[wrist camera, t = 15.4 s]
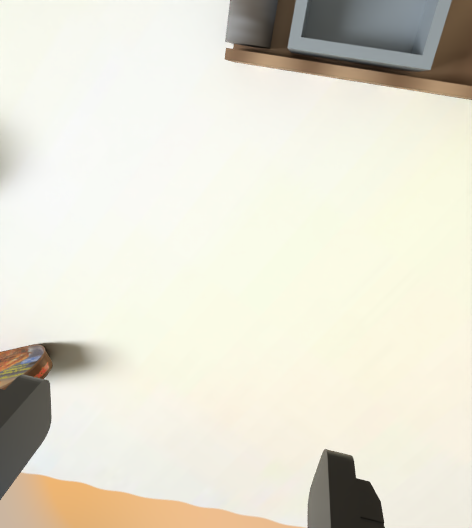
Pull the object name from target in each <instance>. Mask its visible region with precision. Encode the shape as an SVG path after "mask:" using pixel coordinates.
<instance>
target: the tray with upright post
mask: <svg viewBox="0 0 472 528" xmlns="http://www.w3.org/2000/svg"><path fill="white" fill-rule="evenodd" d="M451 2H452V0H296V3H295V8H294V14H293V20H292V25H291V31H290V37H289V42H288V49H289V51H290V52H291V53H294V54H301V55H307V56H314V57H320V58H327V59H333V60H340V61H346V62H353V63H359V64H366V65H372V66H378V67H385V68H391V69H398V70H404V71H411V72H420V71H427V70H431V66H432V63H433V60H434V57H435V53H436V50H437V47H438V44H439V40H440V37H441V34H442V31H443V27H444V24H445V21H446V18H447V15H448V11H449V8H450V5H451Z"/></svg>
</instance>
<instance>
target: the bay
mask: <svg viewBox="0 0 472 528" xmlns="http://www.w3.org/2000/svg"><path fill="white" fill-rule="evenodd" d="M295 3H296V0H230V7H229V15H228V23H227V32H226V40H225V41H226V42H229V43H233V44H234V48H233V49H229V48H226V53H225V60H229V61H232V62H237V63H244V64H250V65H256V66H262V67H269V68H275V69H281V70H288V71H294V72H300V73H306V74H313V75H319V76H325V77H332V78H338V79H344V80H350V81H357V82H363V83H369V84H376V85H382V86H388V87H394V88H401V89H407V90H413V91H420V92H426V93H432V94H438V95H445V96H451V97H457V98H464V99H470V100H472V0H452V2H451V5H450V8H449V11H448V15H447V18H446V21H445V24H444V27H443V31H442V34H441V37H440V40H439V44H438V47H437V50H436V53H435V57H434V60H433V63H432V66H431V70H427V71H420V72H411V71H404V70H398V69H391V68H385V67H378V66H372V65H366V64H359V63H353V62H346V61H340V60H333V59H327V58H320V57H314V56H307V55H301V54H294V53H291V52H290V51H289V49H288V42H289V37H290V31H291V25H292V20H293V14H294V8H295Z"/></svg>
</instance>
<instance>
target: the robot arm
mask: <svg viewBox="0 0 472 528" xmlns="http://www.w3.org/2000/svg"><path fill="white" fill-rule="evenodd" d="M50 424H51V397H50V383H49V381H48V380H44V379H40V378H36V377H32V376H28V375H24V374H22V375H20V376H18V377H17V378H16V379H15V380H14V381H13V382H12V383H11V384H10V385H9V386H8V387H7V388H6V389H5V390H3V389H0V500H1V498H2V497H3V496H4V494H5V493H6V491H7V490H8V489H9V487H10V486H11V485H12V483H13V482H14V480H15V479H16V478H17V476H18V475H19V474H20V472H21V471H22V470H23V468H24V467H25V465H26V464H27V463H28V461H29V460H30V459H31V457H32V456H33V454H34V453H35V452H36V450H37V449H38V448H39V446H40V445H41V444H42V442H43V441H44V439H45V437H46V435H47V433H48V431H49V428H50ZM308 528H385V527H384V519H383V513H382V507H381V502H380V500H379V498H378V496H377V494H376V492H375V491H374V489H373V487H372V485H371V483H370V482H369V481H365V480H361V479H357V478H356V475H355V466H354V460H353V457H352V456H351V455H347V454H343V453H339V452H335V451H331V450H327V449H325V450H324V451H323V453H322V456H321V459H320V462H319V464H318V467H317V470H316V473H315V476H314V479H313V482H312V485H311V488H310V493H309V499H308Z"/></svg>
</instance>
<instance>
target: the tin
mask: <svg viewBox="0 0 472 528" xmlns="http://www.w3.org/2000/svg"><path fill="white" fill-rule="evenodd" d="M51 369H52V361H51V359H50V357H49V356H48V354H47V352H46V351H45V347H44V346H42V345H39V344H36V345H29V346H25V347H21V348H16V349H12V350H8V351H3V352H0V389H3V390H5V389H6V388H7V387H8V386H9V385H10V384H11V383H12V382H13V381H14V380H15V379H16V378H17V377H18V376H20V375H22V374H24V375H28V376H32V377H36V378H40V379H44V378H45V377H46V375H47V374H48V373H49V371H50V370H51Z"/></svg>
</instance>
